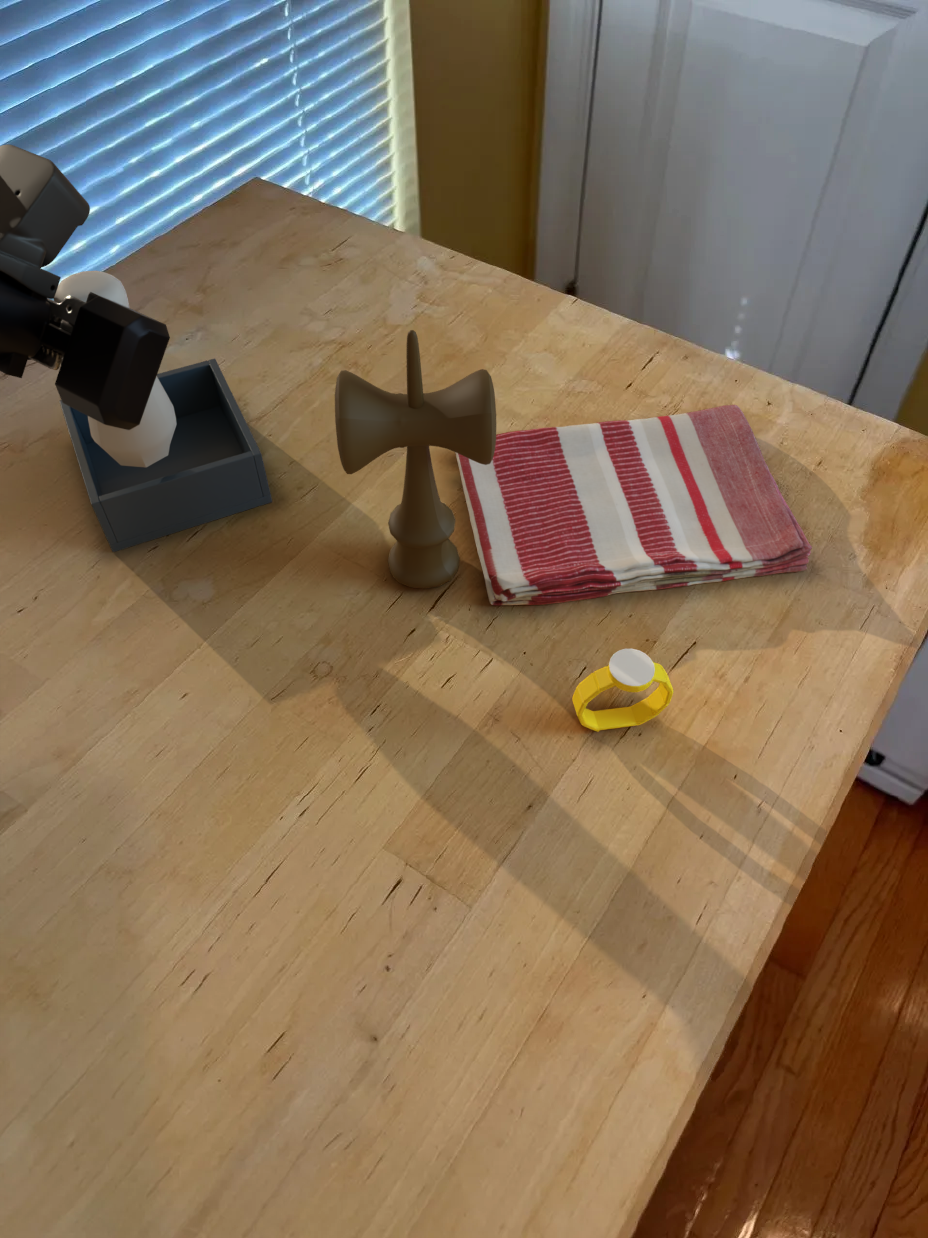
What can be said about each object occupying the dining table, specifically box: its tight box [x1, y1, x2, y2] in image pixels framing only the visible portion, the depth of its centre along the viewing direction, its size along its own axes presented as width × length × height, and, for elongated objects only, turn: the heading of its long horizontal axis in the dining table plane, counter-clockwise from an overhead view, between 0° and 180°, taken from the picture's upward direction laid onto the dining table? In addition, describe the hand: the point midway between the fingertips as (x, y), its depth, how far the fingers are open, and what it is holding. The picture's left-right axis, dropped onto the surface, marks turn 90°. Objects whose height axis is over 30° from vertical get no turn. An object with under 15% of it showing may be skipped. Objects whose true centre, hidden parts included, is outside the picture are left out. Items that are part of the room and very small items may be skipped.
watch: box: [571, 648, 674, 733], centre depth 58 cm, size 6×3×6 cm, turn 101°
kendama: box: [334, 329, 497, 589], centre depth 60 cm, size 6×10×20 cm, turn 93°
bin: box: [59, 357, 273, 553], centre depth 72 cm, size 12×12×5 cm
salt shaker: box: [52, 270, 177, 467], centre depth 61 cm, size 6×6×13 cm
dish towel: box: [454, 404, 813, 606], centre depth 70 cm, size 17×23×3 cm
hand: (128, 354), depth 62 cm, fingers closed on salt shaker, 3 cm apart
